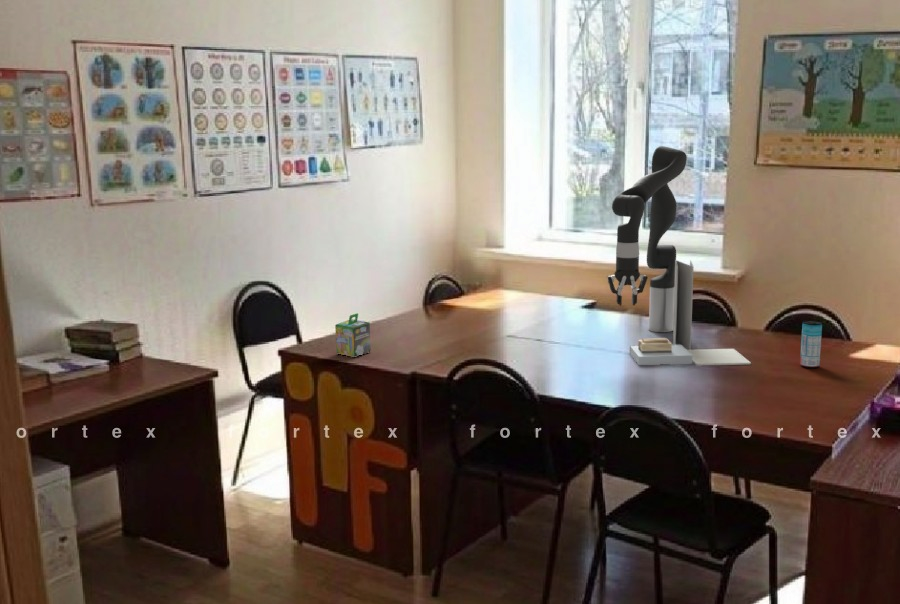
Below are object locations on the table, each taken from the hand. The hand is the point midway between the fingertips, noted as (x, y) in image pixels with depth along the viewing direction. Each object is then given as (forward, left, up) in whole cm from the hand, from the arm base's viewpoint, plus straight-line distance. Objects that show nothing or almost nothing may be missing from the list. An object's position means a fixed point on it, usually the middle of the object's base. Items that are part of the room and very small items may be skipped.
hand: (626, 305), depth 299 cm
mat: (0, +31, -19) cm, 36 cm away
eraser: (0, +10, -16) cm, 19 cm away
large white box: (0, +12, -19) cm, 23 cm away
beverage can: (+13, +58, -19) cm, 63 cm away
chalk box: (-16, -95, -20) cm, 98 cm away
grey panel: (-18, +24, -19) cm, 36 cm away
